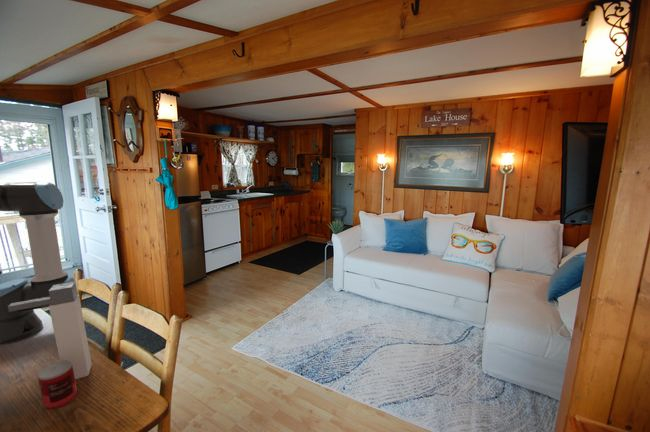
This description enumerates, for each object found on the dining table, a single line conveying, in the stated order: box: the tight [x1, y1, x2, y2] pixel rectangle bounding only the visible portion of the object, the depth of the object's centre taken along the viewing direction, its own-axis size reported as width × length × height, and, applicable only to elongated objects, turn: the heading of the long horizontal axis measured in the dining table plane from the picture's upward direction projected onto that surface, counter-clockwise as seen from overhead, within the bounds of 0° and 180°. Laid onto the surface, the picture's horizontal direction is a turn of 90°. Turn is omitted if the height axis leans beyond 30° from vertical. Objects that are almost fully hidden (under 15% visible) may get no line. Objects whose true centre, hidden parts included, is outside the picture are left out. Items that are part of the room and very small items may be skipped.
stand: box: [48, 293, 93, 380], centre depth 96 cm, size 6×6×28 cm
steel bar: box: [8, 281, 79, 312], centre depth 90 cm, size 5×16×5 cm, turn 121°
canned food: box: [37, 360, 78, 410], centre depth 87 cm, size 8×8×11 cm
